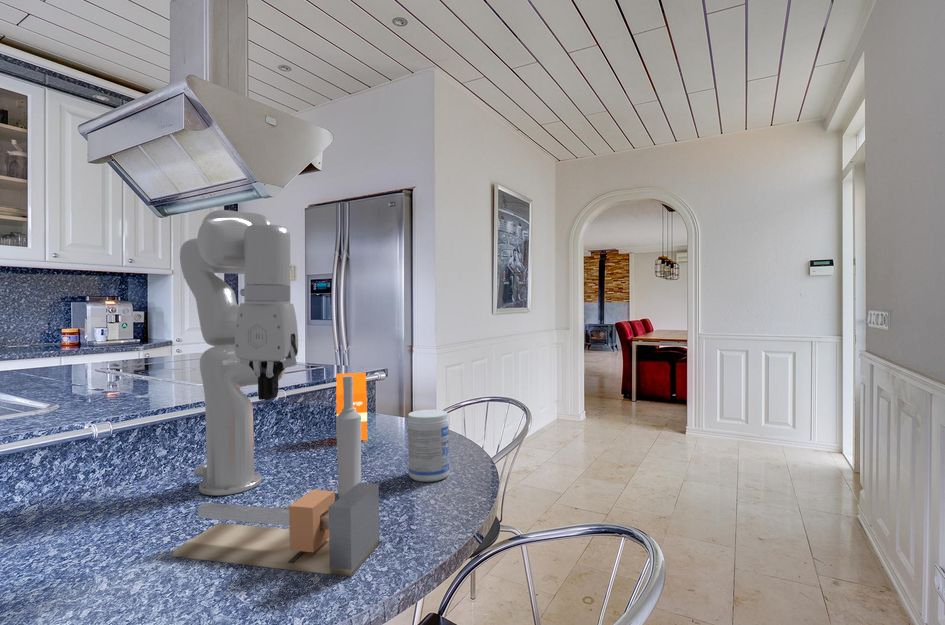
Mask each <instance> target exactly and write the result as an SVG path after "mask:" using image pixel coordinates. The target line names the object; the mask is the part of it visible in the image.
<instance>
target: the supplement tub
mask: <svg viewBox="0 0 945 625" xmlns="http://www.w3.org/2000/svg"><path fill="white" fill-rule="evenodd" d="M449 428H450V427H449V417H448V412H447V411H445V410H443V409H420V410H414V411H411V412H408V414H407V450H408V451H407V452H408V454H407V455H408V457H407V458H408V461H407V462H408V475H409V477H410V478H411V479H413V480H414V481H417V482H422V483H423V482H426V483H427V482H429V483H430V482H437V481H440V480H443V479H445V478H447V477H448V476H449V474H450V443H449V442H450V441H449V440H450V439H449V438H450V436H449V431H450V430H449Z"/></svg>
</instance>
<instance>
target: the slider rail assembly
mask: <svg viewBox="0 0 945 625" xmlns="http://www.w3.org/2000/svg"><path fill="white" fill-rule="evenodd" d="M379 486H380V485H379V483H370V482H361V483H358V484H357V485H355V486H354V487H353V488H352V489H350V490H349V491H348V492H347V493H345V494H344V495H343V496H342V497H338V499H335V502H334V503H333V504H331V505H330V506H329V513H326V512H324V513H323V514H322V515H320V529H329V554H330V569H331V568H332V569H333V568H334V569H336V568H338V569H347V570H348V572H349V573H348V574H347V576H346V575H345V576H344V575H343V576H342V577H349V576H350V575H349V574H350V572H352V571H353V570H354V569H353V568H355V566H356V565H357V566H358V567H356V568H357V571H358V570H359V569H360V568H359V567H360V566H363V564H364V563H365V562H366V561H364V559H363V558H366V557H363V556H365V555H367V552H368V551H369V550H370V548H371V547H372V546H373V545H374V544H375V543H376V542H377V540H379V541H378V544H377V545H376V544H375V547H374V548H375V549H374V548H373V549H374V550H373V549H372V548H371V549H372V550H373V552H375V550H376V549H377V548H378V547H379V546H380V544H379V543H380V540H381V539H379V538H380V501H379V500H380V490H379ZM197 518H199V519H201V518H202V519H211V520H213V519H214V520H222V521H223V520H224V521H233V522H235V521H236V522H243V523H244V522H246V523H255V524H256V523H257V524H268V525H276V526H278V525H279V526H287V527H289V508H276V507H267V506H266V507H265V506H264V507H263V506H255V505H254V506H252V505H241V504H232V503H231V504H229V503H220V502H219V503H216V502H207V501H206V502H204V503H201V504H200V505H197ZM376 547H377V548H376ZM369 553H371V550H370V552H369ZM367 557H368V558H369V557H370V556H367ZM360 560H362V561H364V562H362V561H360ZM359 561H360V562H359ZM358 562H359V563H360V564H359V565H358ZM361 562H362V564H361ZM358 568H359V569H358ZM350 570H352V571H350ZM333 571H334V570H333ZM333 571H332V570H331V574H330V575H332V573H333ZM354 571H356V570H354ZM354 571H353V573H355V574H356V572H357V571H356V572H354ZM334 572H335V574H337V573H336V572H338V571H336V570H335V571H334ZM340 572H341V571H340ZM343 572H344V570H343ZM345 573H346V572H345ZM353 573H352V574H353ZM341 574H342V573H341ZM343 574H344V573H343ZM333 576H335V575H334V574H333ZM339 576H340V577H341V575H339ZM353 576H354V575H352V577H353ZM349 578H351V576H350V577H349Z"/></svg>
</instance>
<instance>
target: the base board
mask: <svg viewBox="0 0 945 625" xmlns="http://www.w3.org/2000/svg"><path fill="white" fill-rule="evenodd" d="M379 539H380V538H379ZM380 540H381V539H380ZM378 541H379V540H377V542H376V543H375V544H376V545H377V544H378ZM375 544H374V545H373V546H372V547H371V548H372V549H373V548H374V547H375ZM379 545H380V543H379ZM371 548H370V550H371V553H369V552H370V550H369V551H368V552H367V555H365V556H363V557H366V558H363V559H364V561H365V562H366V561H367V559H369V557H370V556H371V555H372V554H373V552H374V551H375V550H376V549H377V548H378V547H376V549H375V548H374V549H375V550H374V549H373V550H374V551H373V550H372V549H371ZM172 554H173V555H172V556H173V557H175V558H176V557H177V558H184V559H194V560H195V559H196V560H201V561H202V560H203V561H209V562H210V561H212V562H219V563H220V562H221V563H229V564H236V565H245V566H253V567H254V566H255V567H263V568H272V569H283V570H289V571H297V572H298V571H299V572H304V573H306V572H307V573H314V574H315V573H316V574H323V575H333V574H334V575H333V576H340V575H341V576H342V577H349V578H351V577H353V576H354V574H356V573H357V572H358V570H359V569H360V567H361V566H362V565H363V564H362V562H364V561H362V560H360V561H362V562H361V564H362V565H361V566H360V567H359V568H358V570H357V568H356V567H358V566H357V565H356V566H355V568H353V569H354V570H356V571H354V570H353V571H354V572H355V573H353V571H352V570H350V571H352V572H350V574H349V575H350V576H351V577H350V576H347V574H348V573H349V572H348V570H347V569H338V568H336V569H334V568H333V569H332V568H331V569H330V554H329V539H327V540H326V541H325V542H324V543H323V544H322V545H321V546H320V547H319V548H318V549H317V550H315V551H314V552H304V551H295V550H290V528H289V529H287V528H277V527H267V526H255V525H254V526H253V525H247V524H244V525H243V524H235V523H224V522H218V523H216V524H215V525H213V526H211V527H210V528H208V529H206V530H205V531H203V532H202V533H200V534H198V535H196V536H195V537H193V538H192V539H190V540H187V541H186V542H184V543H183V544H181V545H179V546H178V547H176V548H174V549H173V553H172ZM367 556H369V557H367ZM360 561H359V562H360ZM359 562H358V565H359V564H360V563H359ZM365 562H364V563H365ZM331 570H332V571H333V570H334V571H335V570H336V571H338V572H336V573H337V574H335V572H334V571H333V573H332V574H331ZM343 570H344V572H343ZM340 571H341V572H340ZM345 572H346V573H345ZM341 573H342V574H341ZM343 573H344V574H343ZM352 573H353V574H352ZM343 575H344V576H343ZM345 575H346V576H345ZM352 575H353V576H352ZM341 576H340V577H341Z"/></svg>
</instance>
